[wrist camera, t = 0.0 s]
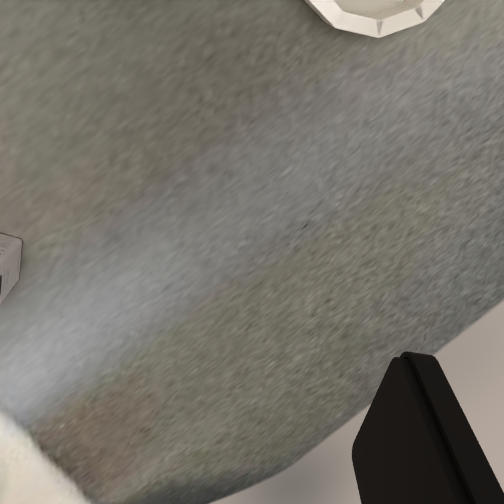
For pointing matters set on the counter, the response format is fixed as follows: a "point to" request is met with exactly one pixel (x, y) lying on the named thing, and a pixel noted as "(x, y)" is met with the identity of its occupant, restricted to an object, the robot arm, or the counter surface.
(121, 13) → the counter surface
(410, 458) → the robot arm
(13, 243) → the ink box
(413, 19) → the bowl
